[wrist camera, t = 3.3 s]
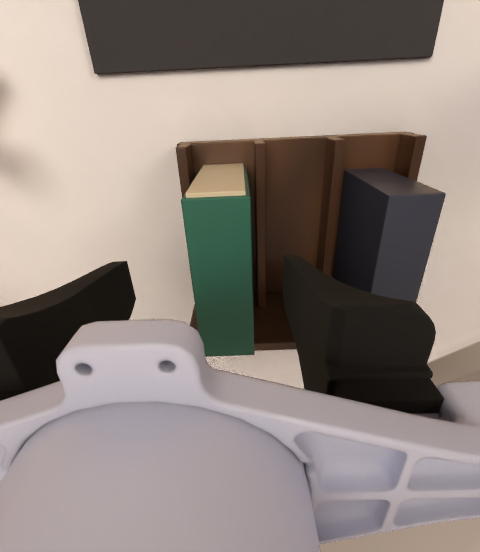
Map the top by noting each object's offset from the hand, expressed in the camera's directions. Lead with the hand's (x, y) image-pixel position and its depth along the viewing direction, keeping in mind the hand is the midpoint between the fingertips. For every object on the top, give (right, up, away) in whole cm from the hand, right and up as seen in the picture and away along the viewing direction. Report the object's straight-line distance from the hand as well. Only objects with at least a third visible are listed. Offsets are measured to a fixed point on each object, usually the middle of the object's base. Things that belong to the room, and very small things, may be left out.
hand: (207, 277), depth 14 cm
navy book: (+10, +4, +8) cm, 13 cm away
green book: (+1, +3, +8) cm, 9 cm away
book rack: (+5, +4, +9) cm, 11 cm away
